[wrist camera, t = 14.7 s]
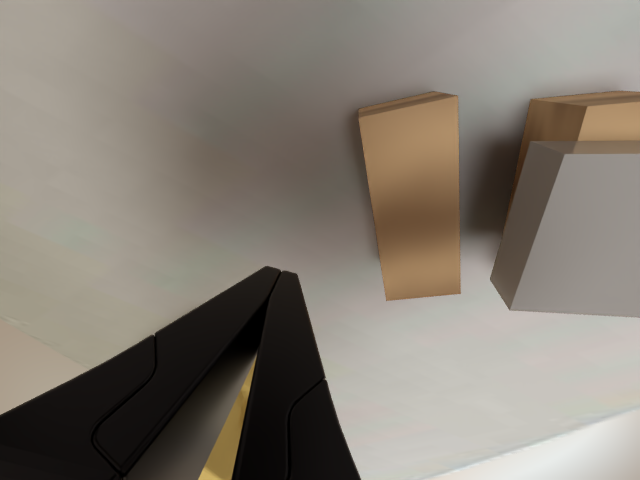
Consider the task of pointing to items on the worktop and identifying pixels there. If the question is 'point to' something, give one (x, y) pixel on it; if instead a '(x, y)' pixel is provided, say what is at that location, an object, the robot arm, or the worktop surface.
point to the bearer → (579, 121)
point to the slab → (574, 231)
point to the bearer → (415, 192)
